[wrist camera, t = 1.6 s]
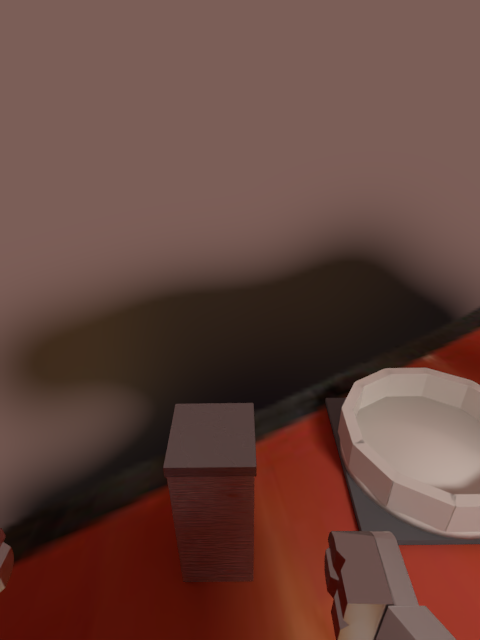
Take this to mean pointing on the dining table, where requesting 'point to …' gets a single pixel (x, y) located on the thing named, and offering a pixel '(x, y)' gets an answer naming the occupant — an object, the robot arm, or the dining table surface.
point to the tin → (213, 490)
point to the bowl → (416, 447)
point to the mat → (373, 515)
